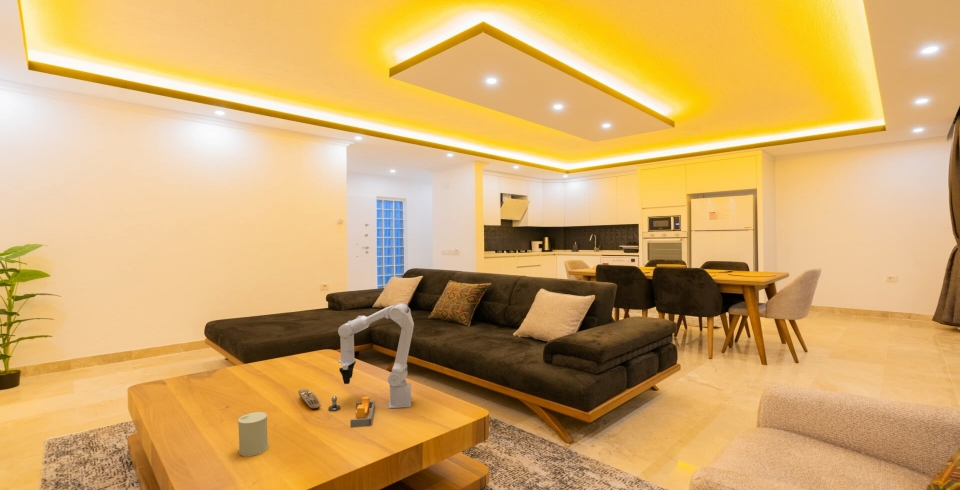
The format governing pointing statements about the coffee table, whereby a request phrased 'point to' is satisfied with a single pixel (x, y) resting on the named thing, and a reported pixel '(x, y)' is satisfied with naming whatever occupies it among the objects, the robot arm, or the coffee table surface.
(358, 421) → the u-shaped bracket
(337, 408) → the ball stud
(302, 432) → the coffee table surface
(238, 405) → the coffee table surface
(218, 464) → the coffee table surface
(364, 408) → the pipe clamp
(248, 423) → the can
